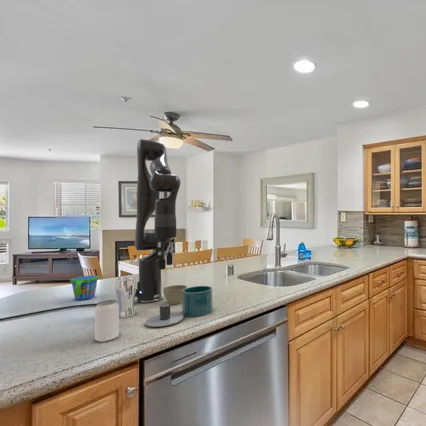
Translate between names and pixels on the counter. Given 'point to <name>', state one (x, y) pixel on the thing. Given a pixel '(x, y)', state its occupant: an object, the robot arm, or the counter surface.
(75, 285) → the blue green tapered container
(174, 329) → the counter surface
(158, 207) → the robot arm
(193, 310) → the canister
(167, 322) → the lid
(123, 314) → the beer glass
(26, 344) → the counter surface
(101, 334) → the can
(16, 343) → the counter surface
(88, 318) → the counter surface
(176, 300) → the flower pot
